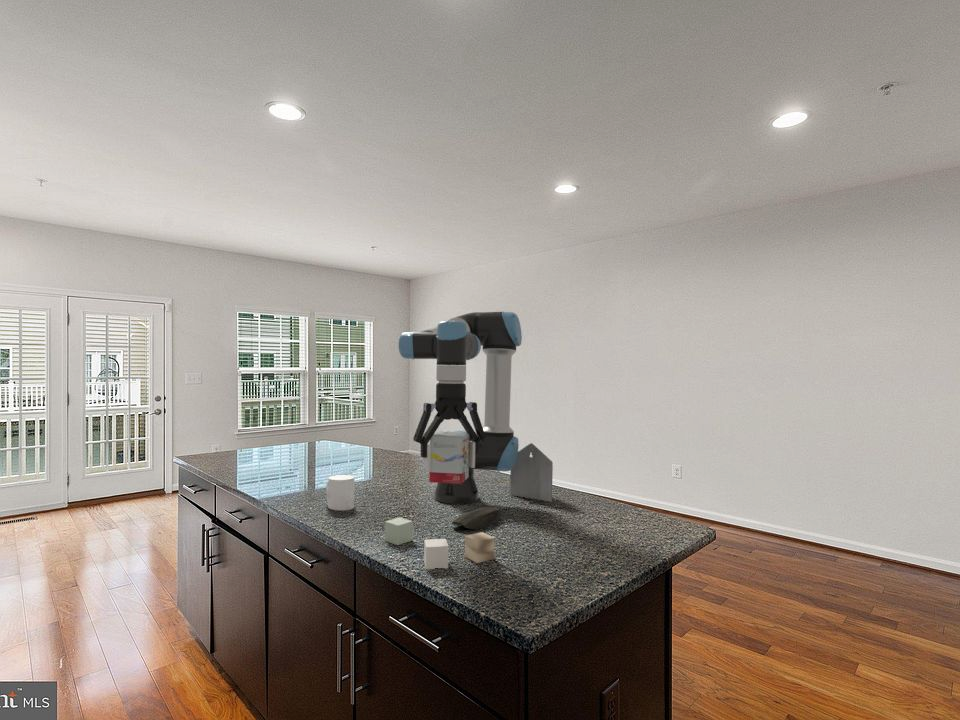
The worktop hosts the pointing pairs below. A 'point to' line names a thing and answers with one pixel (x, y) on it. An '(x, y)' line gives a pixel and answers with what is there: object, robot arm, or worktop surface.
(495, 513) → the decorative stone
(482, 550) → the maple cube
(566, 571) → the worktop surface
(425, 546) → the off-white cube
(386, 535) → the sage cube
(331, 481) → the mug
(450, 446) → the ink box
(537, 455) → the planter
